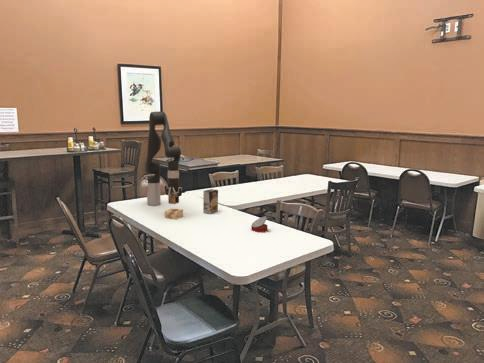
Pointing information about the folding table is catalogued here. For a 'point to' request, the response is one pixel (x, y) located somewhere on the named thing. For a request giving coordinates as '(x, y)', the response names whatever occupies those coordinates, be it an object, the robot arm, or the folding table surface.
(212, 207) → the coffee box
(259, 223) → the canned food
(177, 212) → the oak block
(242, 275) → the folding table surface
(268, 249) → the folding table surface
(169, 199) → the walnut block
